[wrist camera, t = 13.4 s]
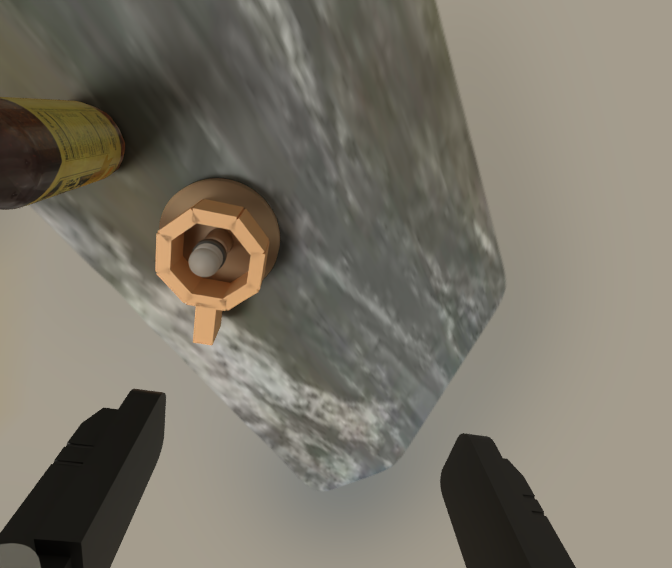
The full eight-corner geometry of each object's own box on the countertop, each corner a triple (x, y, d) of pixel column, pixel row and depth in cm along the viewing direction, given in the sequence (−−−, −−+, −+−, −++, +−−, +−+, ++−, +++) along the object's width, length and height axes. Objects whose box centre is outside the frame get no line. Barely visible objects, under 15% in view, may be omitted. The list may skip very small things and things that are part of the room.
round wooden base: (167, 166, 33) (125, 181, 26) (288, 192, 35) (282, 214, 28) (163, 276, 38) (126, 316, 30) (271, 295, 39) (261, 337, 32)
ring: (172, 192, 33) (157, 201, 30) (274, 213, 34) (269, 223, 31) (166, 317, 38) (153, 336, 35) (255, 331, 39) (249, 351, 36)
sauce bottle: (63, 175, 33) (-231, 252, 15) (45, 97, 31) (-335, 79, 13) (139, 180, 34) (-60, 259, 16) (127, 103, 31) (-126, 94, 13)
